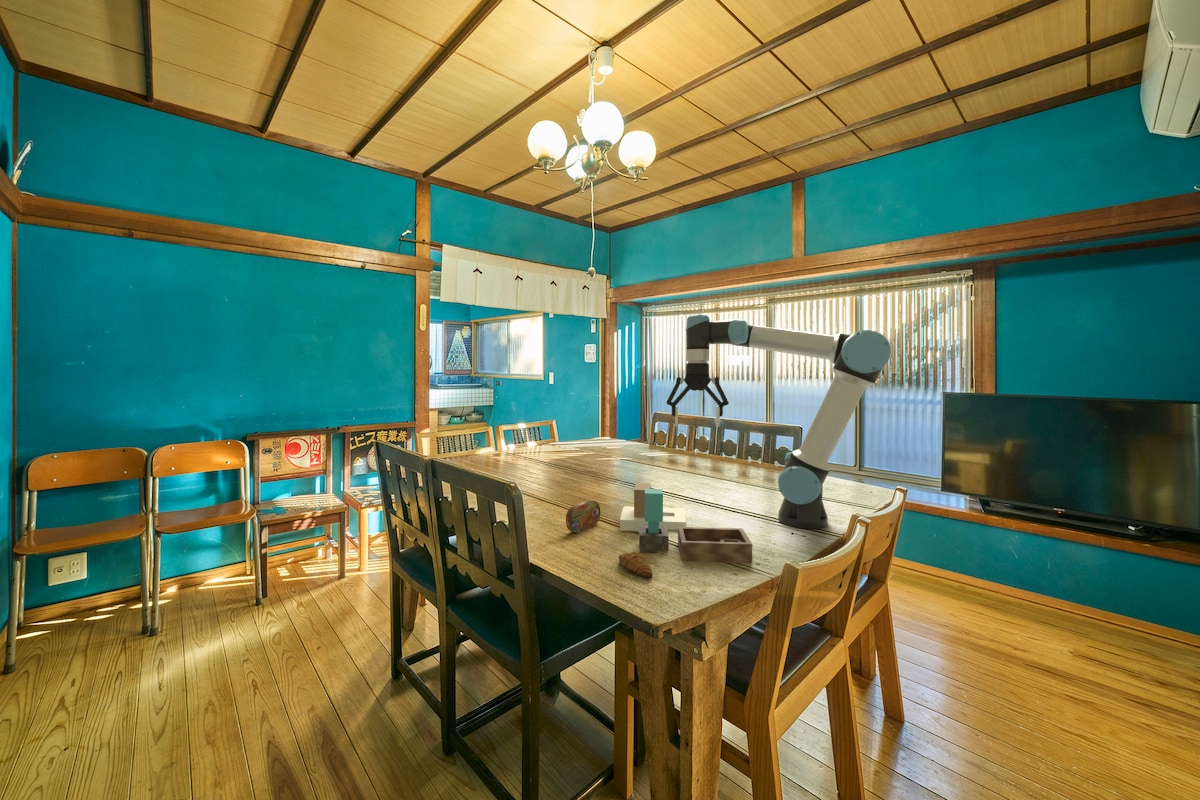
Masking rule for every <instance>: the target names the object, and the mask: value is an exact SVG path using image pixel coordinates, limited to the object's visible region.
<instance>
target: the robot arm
mask: <svg viewBox="0 0 1200 800" xmlns="http://www.w3.org/2000/svg"><path fill="white" fill-rule="evenodd" d="M685 333H686V334H685V336H686V339H685V340H686V341H685V342H686V350H685V353H686V354H685V361H686V362H687V363H686V364H685V377H680V376H677V377H676V379H675V385H674V386H673V388H672V390H671V392H670V394H669V396H668V398H667V400H666V405H668V406H670V407H671V416H672V417H674V427H679V419H678V418H679V407H678V406H677V405H678V404H679V403H680V402H681V400H682V399H683V398H684V397H686V395H687V393H688V392H689V391H690V390H691V391H700V392H701V391H706V393H707V394H708V395H709V397H711V399H713V401H714V402H715V404H717V406H715V427H718V428H720V419H721V418H720V417H723V415H724V413H723V412H724V407H725V406H727V405H729V403H730V402H729V401H728V399H727V396H726V394H725V392H724V390H723V389H722V386H721V384H720V377H719V376H714V377H710V364H709V362H710V345H724V344H725V345H732V346H735V347H737V346H738V347H744V348H750V349H751V348H752V349H759V350H763V351H764V350H766V351H771V352H778V353H785V354H789V355H790V354H791V355H796V356H804V357H810V358H816V359H823V360H829V361H830V362H831V364H834V365H833V367H832V372H833V374H834V378H833V380H832V381H831V384H830V385H829V388H828V390H827V392H826V394H825V396H824V399H822V402H821V404H820V406H819V409H818V410H817V412H816V414H815V417H814V418H813V420H812V423H811V424H810V427H809V428H808V431H807V433H806V435H805V437H804V438H803V441H802V443H801V445H800V447H799V448H798V449H795V450H792V451H791V452H787V453H786V454H785V455H784V456H785V458H784V462H785V463H784V467H783V469H782V471H781V472H780V473H779V475H778V479H777V484H778V485H777V486H778V489H779V492H780V493H781V495H782V496H783V498H782V499H783V500H782V502H781V505H780V507H779V510H778V516H777V517H778V521H779V522H780V523H782V524H784V525H787V526H790V527H794V528H799V529H809V530H810V529H811V530H813V529H815V530H817V529H823V528H826V527H828V523H829V522H828V520H829V517H828V515H827V511H826V508H825V504H824V502H823V494H824V493H823V492H824V490H823V488H824V482H825V480H826V478H827V477H828V475H829V473H830V472H831V466H830V464H829V460H830V458H831V457H832V454H833V452H834V451H835V448H836V447H837V445H838V443H839V441H840V439H841V437H842V435H843V433H844V431H845V429H846V427H847V425H848V423H849V422H850V419H851V418H852V415H853V414H854V412H855V410H856V407H857V406H858V404H859V401H860V399H862V396H863V394H864V392H865V391H866V388H867V387H871V386H873V385H875V384H876V382H877V380H878V378H879V375H880V373H881V372H882V370H883V369H884V367H885V366H886V365H887V363H888V362H889V360H890V358H891V354H892V347H891V345H890V342H889V340H888V339H887V337H886V336H885V335H883V334H882V333H880V332H877V331H875V330H871V329H865V330H863V329H862V330H858V331H856V332H853V333H852V334H847V333H837V334H836V335H829V334H823V333H822V334H821V333H815V332H814V333H813V332H808V331H800V330H790V329H783V328H775V327H769V326H768V327H767V326H761V325H755V324H754V325H753V324H748V321H747V320H746V319H736V318H735V319H724V320H723V319H722V320H711V317H710V316H709V315H708V314H694V315H693V314H692V315H689V316H688V317H687V318H686V328H685ZM684 382H685V384H686V386H685V387H684V388H683V389H682V391H681V392H680V393H679V394H678V396H677V397H676V398H675V399H674V397H675V395H676V394H677V391H678V390H679V387H680V385H682V384H683V383H684ZM710 383H712V384H714V386H715V388H716V390H717V393H718V395H719V396H720V399H721V400H720V399H719V397H717V396H716V394H715V393H714V392H713V391H712V390H711V388H710V387H709V386H708V385H709V384H710ZM673 399H674V400H673Z"/></svg>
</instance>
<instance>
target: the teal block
mask: <svg viewBox="0 0 1200 800" xmlns="http://www.w3.org/2000/svg"><path fill="white" fill-rule="evenodd" d="M663 508H664V492H663V488H651V489H645V522H648V534H659V522H663Z"/></svg>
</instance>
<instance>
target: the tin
mask: <svg viewBox="0 0 1200 800" xmlns="http://www.w3.org/2000/svg"><path fill="white" fill-rule="evenodd" d="M600 518H601V506H600V503H599V502H598V501H596V500H585V501H582V502H579V503H577V504H575V505H574V504H573V506H571V507H570V508H568V510H567V512H566V515H565V524H566V528H567V530H569V532H570V533H571V532H572V533H575V534H580V533H582V532H584V531H587V530H589V529H591V528H593V527H595V526H596V525H597V524H598V522H599V520H600Z"/></svg>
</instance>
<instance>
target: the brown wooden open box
mask: <svg viewBox="0 0 1200 800" xmlns="http://www.w3.org/2000/svg"><path fill="white" fill-rule="evenodd" d="M677 547H678V551H679V555H680V561H681V562H689V563H690V562H694V563H697V562H698V563H726V564H727V563H728V564H729V563H732V564H733V563H734V564H753V543H752V541H751V539H750V538H749V536H748V535H747V533H746V532H745V530H744V529H743V528H742V527H741V528H739V527H738V528H737V527H736V528H735V527H734V528H732V527H729V528H728V527H697V526H695V527H692V526H686V527H678V530H677Z"/></svg>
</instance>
